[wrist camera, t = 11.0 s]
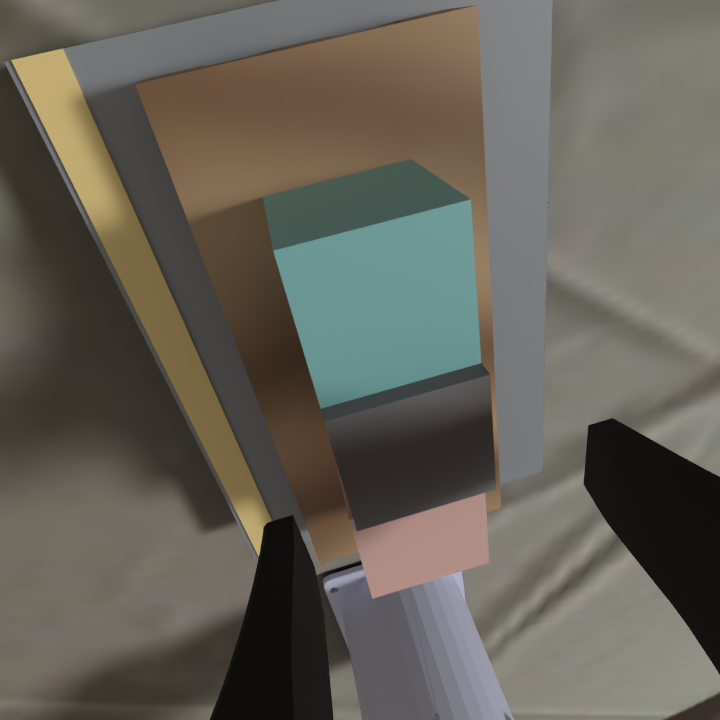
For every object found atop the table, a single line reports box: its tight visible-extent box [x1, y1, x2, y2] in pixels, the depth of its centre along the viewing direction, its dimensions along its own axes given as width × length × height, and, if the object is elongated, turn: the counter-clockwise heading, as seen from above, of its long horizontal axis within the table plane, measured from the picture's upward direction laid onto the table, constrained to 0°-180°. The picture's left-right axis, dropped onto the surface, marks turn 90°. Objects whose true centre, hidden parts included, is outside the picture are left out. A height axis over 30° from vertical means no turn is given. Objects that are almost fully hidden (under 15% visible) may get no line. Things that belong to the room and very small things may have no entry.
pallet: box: [135, 5, 501, 563], centre depth 16 cm, size 18×8×6 cm, turn 11°
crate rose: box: [332, 450, 489, 599], centre depth 17 cm, size 4×4×4 cm
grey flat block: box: [4, 0, 552, 559], centre depth 19 cm, size 20×14×3 cm
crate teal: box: [263, 159, 481, 409], centre depth 13 cm, size 4×4×4 cm
